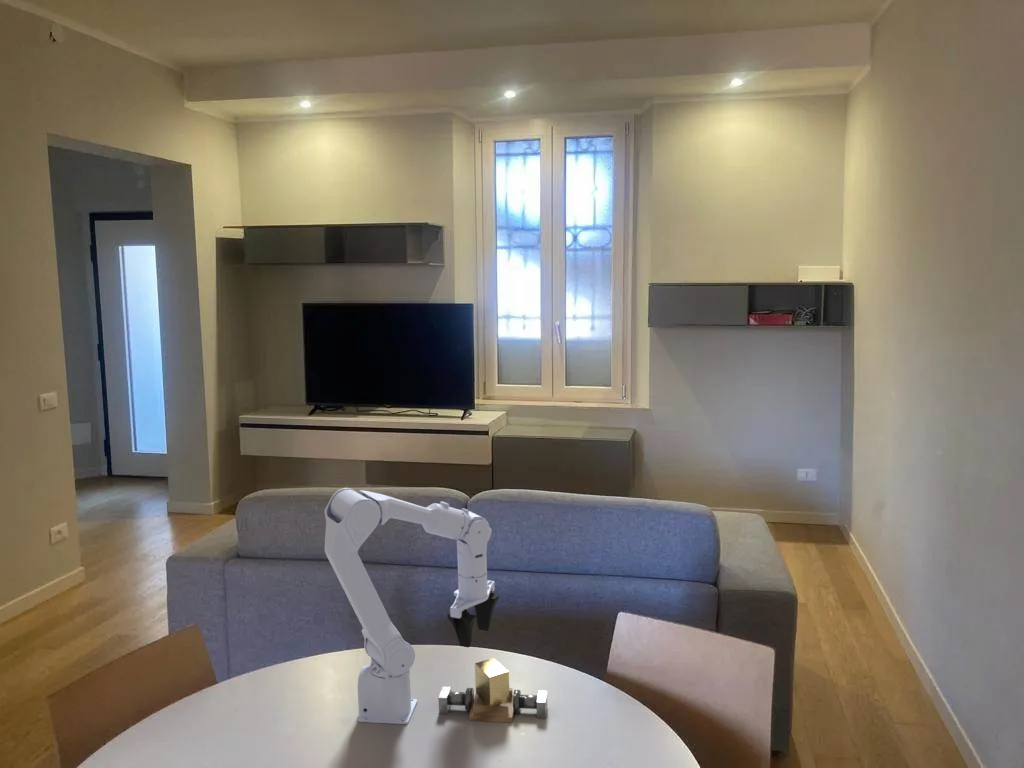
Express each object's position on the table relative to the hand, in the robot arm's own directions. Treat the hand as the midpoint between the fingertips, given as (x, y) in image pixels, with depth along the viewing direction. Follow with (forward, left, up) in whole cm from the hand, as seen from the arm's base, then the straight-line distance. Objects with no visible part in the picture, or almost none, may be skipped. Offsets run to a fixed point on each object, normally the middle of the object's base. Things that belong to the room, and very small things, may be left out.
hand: (474, 637), depth 160 cm
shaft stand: (+5, -10, -9) cm, 15 cm away
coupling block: (+5, -10, -7) cm, 13 cm away
